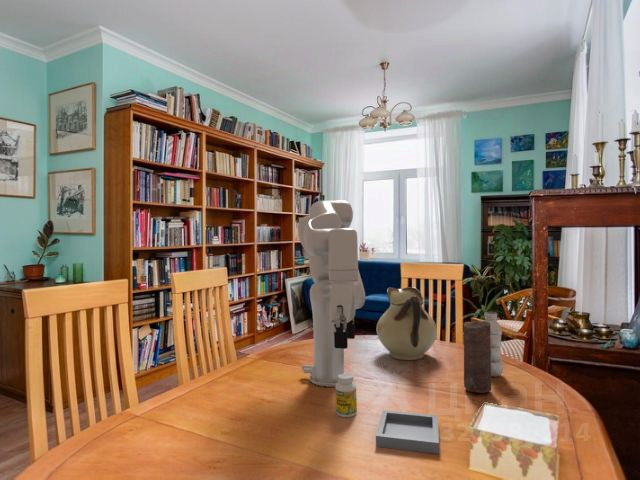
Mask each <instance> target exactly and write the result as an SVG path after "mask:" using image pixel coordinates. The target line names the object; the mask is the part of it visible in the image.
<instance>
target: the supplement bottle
mask: <svg viewBox="0 0 640 480" xmlns="http://www.w3.org/2000/svg"><path fill="white" fill-rule="evenodd" d="M346 373H347V372H345V374H339V375H338V382H339V383H337V384H336V386H334V388H335V413H336V415H338V416H339V417H342V418H351V417H354V416H356V415H357V412H358V409H357V408H358V406H357V405H358V402H357V400H358V399H357V386H356V383H354V375H353V374H352V373H347V374H346Z"/></svg>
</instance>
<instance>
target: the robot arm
mask: <svg viewBox="0 0 640 480" xmlns="http://www.w3.org/2000/svg"><path fill="white" fill-rule="evenodd" d="M353 218H354V211H353V208H352V205H351V203H350V202H348V201H346V200H341V199H339V200H318V201H316V202H314V203H312V205H310V208H309V211H308V215H306V216H305V215H304V216H303V217H302V218H300V220H298V225H297V232H298V237H299V241H300V244H301V246H302V248H303V250H304V252H305V253H306V255H307V259H308V267H309V272H310V277H311V279H312V282H313V284H312V285H311V287H310V289H309V299H310V304H311V311H312V325H313V326H312V328H313V329H312V331H313V361H314V364H311V365H309V364H302V365H301V366H302V367H301V371H302V372H303V373H305V374H310V375H309V382H310V381H311V382H312V383H311V382H310V383H311V384H313V383H314V384H313V385H315V384H316V385H315V386H318V385H319V387H324V386H326V388H327V387H329V388H333V387H334V388H335V386H336V384H337V383H339V382H338V375H339V374H345V373H346V374H348V373H347V372H345V350H346V349H348V346H349V344H348V340H349V339H350V340H353V339H355V337H356V330H355V328H356V327H355V317H356V310H358V309H361V308H362V307H363V306H364V305H365V302H366V291H365V288H364V284H363V280H362V278H361V274H360V271H359V255H358V254H359V253H358V249H359V248H358V247H359V246H358V232H357V230H356V229H354V228H351V227H350V226H351V224H352V222H353ZM344 349H345V350H344Z"/></svg>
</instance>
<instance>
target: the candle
mask: <svg viewBox="0 0 640 480" xmlns="http://www.w3.org/2000/svg"><path fill="white" fill-rule="evenodd" d="M463 387H464V389H466V390H467V391H468V392H470V393H475V394H476V393H480V394H484V393H489V392H491V391H492V376H491V345H490V323H489V322H486V321H485V320H477V321H476V320H473V321H465V322H464V323H463Z"/></svg>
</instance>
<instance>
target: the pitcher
mask: <svg viewBox="0 0 640 480" xmlns="http://www.w3.org/2000/svg"><path fill="white" fill-rule="evenodd" d="M386 295H387V298H388V301H389V303H390V305H389V307H388V308H387V309H386V311H384V313H383V314H382V315H381V316H380V318H379V320H378V321H377V324H376V329H375V330H376V334H377V335H376V336H377V338H378V340H379V342H380V343H381V344H382V345H383V347H384V348H385V349H386V350H387V351H388V352H389V355H390V357H392V358H393V359H396V360H403V361H417V360H420V359H422V358H424V356H425V355H424V354H425V353H427V352H428V351H429V350H430V349H431V348H432V347H433V346H434V344H435V342H436V339H437V335H438V329H437V324H436V322H435V320H434V319H433V317H432V316H431V315H430V314H429V313H428V312H427V311H426V310H425V308H424V306H423V305H424V302H425V301H424V297H423V295H422V293H421V291H420V290H419V289H418V288H416V287H415V286H414V287H413V286H410V287H409V286H408V287H404V288H395V287H388V288H387V290H386Z"/></svg>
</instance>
